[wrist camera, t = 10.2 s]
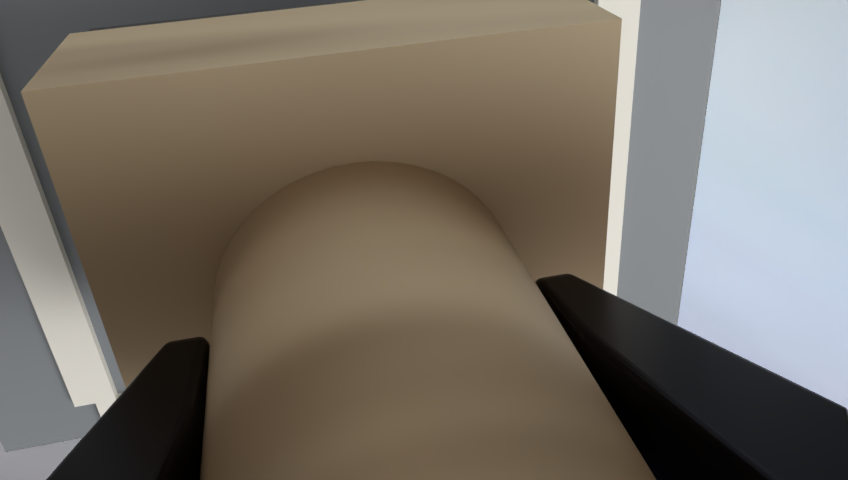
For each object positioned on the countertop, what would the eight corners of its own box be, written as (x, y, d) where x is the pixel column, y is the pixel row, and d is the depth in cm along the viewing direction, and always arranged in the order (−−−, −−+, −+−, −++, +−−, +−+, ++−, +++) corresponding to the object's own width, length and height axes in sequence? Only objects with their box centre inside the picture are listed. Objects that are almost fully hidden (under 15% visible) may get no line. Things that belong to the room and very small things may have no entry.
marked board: (664, 311, 18) (681, 331, 17) (14, 431, 16) (3, 459, 15) (739, -293, 12) (769, -300, 11) (-302, -229, 10) (-343, -233, 9)
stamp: (531, 322, 13) (881, 949, 6) (186, 384, 12) (96, 1205, 5) (534, -29, 10) (1267, 367, 3) (79, 21, 9) (-546, 768, 2)
